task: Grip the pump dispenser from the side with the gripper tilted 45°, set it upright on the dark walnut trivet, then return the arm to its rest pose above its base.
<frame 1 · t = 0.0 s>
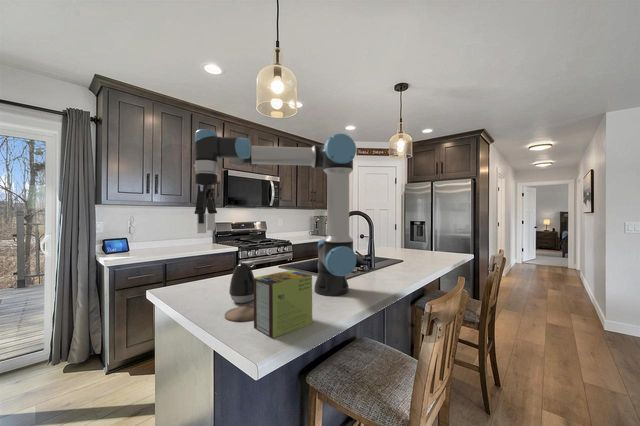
hand: (206, 231, 101), 28 cm above the table, tool pointing down, fingers open, 13 cm apart
walnut trivet: (244, 314, 95), on the table
protein box: (283, 326, 86), on the table
pump dispenser: (243, 301, 109), on the table
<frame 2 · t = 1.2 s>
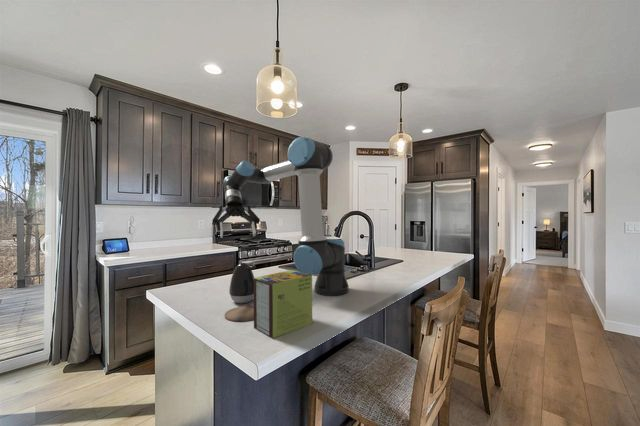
hand: (238, 235, 118), 25 cm above the table, tool tilted 45°, fingers open, 13 cm apart
nothing on the table moved.
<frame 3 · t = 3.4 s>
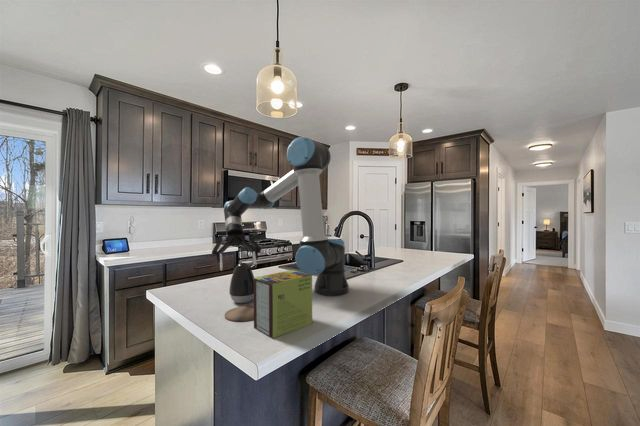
hand: (238, 267, 114), 12 cm above the table, tool tilted 45°, fingers open, 13 cm apart
nothing on the table moved.
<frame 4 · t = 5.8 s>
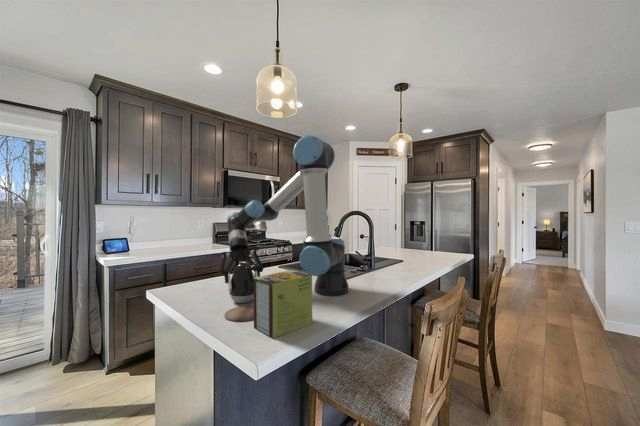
hand: (244, 288, 106), 6 cm above the table, tool tilted 45°, fingers closed on pump dispenser, 10 cm apart
pump dispenser: (243, 301, 109), on the table, touching gripper
everything else where it was.
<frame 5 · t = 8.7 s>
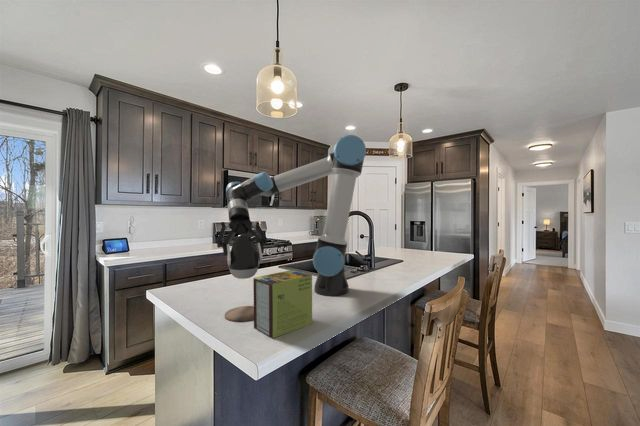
hand: (245, 261, 93), 19 cm above the table, tool tilted 45°, fingers closed on pump dispenser, 10 cm apart
pump dispenser: (244, 277, 95), point 13 cm above the table, touching gripper
everything else where it was.
when the fingers open (8 cm above the table, at t = 11.7 s): pump dispenser drops 1 cm, resting on walnut trivet.
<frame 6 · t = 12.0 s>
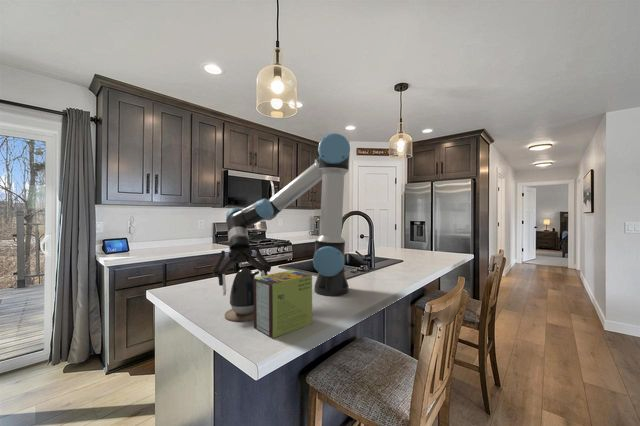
hand: (245, 290, 93), 9 cm above the table, tool tilted 45°, fingers open, 13 cm apart
pump dispenser: (245, 312, 96), resting on walnut trivet
everything else where it was.
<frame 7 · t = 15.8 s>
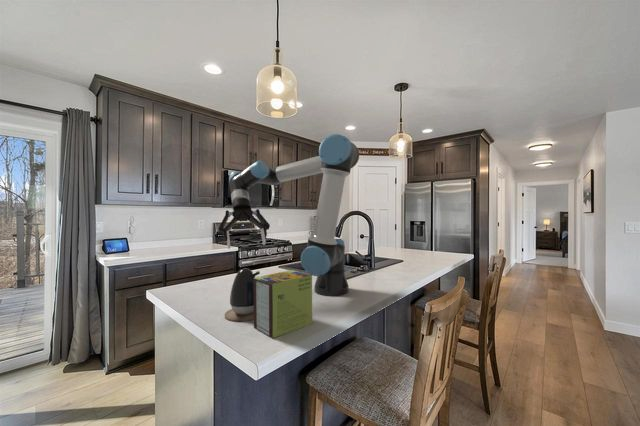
hand: (247, 245, 109), 22 cm above the table, tool tilted 35°, fingers open, 13 cm apart
nothing on the table moved.
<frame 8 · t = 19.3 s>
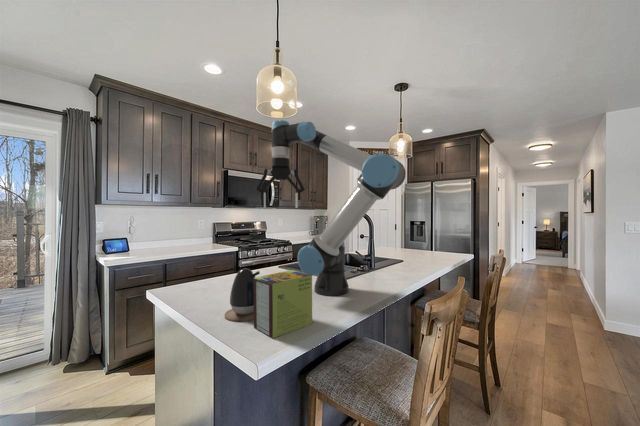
hand: (280, 208, 119), 37 cm above the table, tool pointing down, fingers open, 13 cm apart
nothing on the table moved.
at the end: pump dispenser inside the target area on the walnut trivet (0.4 cm from its centre), point 0.4 cm above the walnut trivet's base; pump dispenser tilted 0°; the gripper is holding nothing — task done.
